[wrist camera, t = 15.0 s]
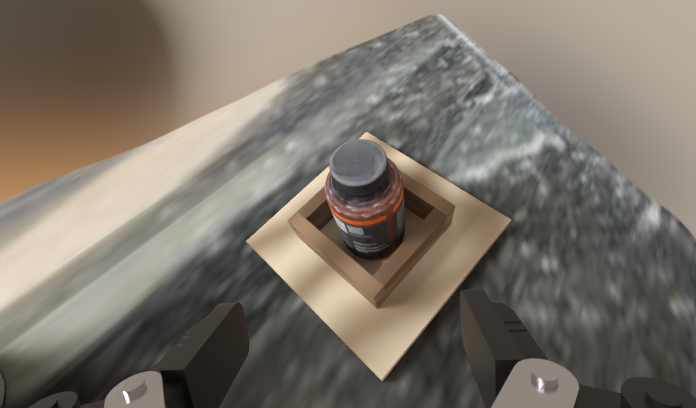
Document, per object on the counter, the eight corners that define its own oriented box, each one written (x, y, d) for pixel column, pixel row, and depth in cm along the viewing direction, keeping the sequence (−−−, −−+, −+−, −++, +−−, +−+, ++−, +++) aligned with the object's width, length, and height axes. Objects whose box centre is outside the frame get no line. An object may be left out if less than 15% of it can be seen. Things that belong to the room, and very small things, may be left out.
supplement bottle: (394, 199, 34) (389, 117, 24) (413, 252, 31) (416, 183, 21) (337, 214, 34) (308, 140, 24) (350, 269, 31) (323, 209, 21)
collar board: (252, 247, 35) (230, 225, 31) (367, 140, 40) (363, 109, 36) (382, 381, 27) (377, 377, 23) (507, 227, 32) (522, 199, 28)
